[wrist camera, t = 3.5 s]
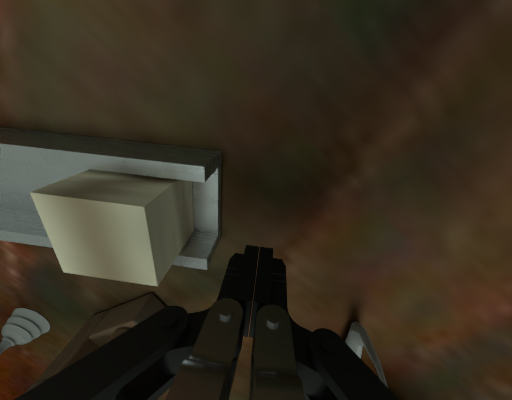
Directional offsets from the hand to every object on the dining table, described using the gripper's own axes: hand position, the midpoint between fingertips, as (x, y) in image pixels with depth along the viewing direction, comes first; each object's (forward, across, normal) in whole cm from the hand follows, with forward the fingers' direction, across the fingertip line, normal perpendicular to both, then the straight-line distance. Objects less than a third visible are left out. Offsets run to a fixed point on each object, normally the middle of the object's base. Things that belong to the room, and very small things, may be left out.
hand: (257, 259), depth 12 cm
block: (+5, +9, 0) cm, 10 cm away
